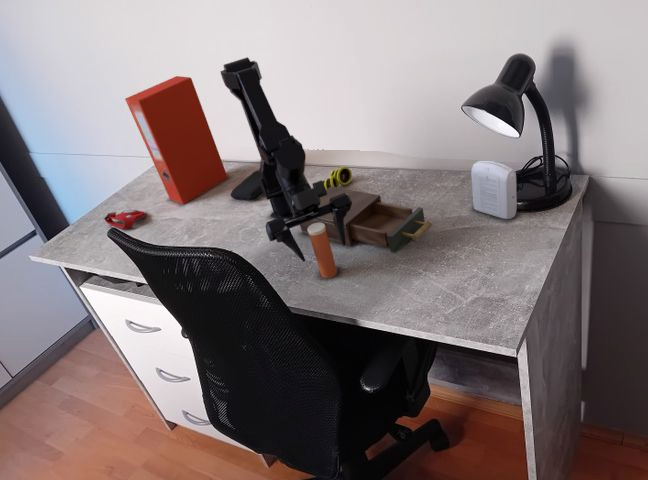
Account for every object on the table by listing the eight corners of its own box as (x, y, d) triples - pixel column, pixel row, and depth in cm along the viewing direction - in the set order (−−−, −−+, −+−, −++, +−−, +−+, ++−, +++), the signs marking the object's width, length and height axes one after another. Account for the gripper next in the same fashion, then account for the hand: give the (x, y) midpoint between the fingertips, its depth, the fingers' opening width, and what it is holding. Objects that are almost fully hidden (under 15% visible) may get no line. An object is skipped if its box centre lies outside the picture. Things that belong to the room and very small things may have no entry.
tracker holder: (144, 206, 165) (143, 212, 156) (147, 220, 166) (145, 227, 157) (101, 211, 162) (97, 217, 153) (104, 225, 163) (100, 232, 154)
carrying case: (258, 203, 153) (286, 178, 163) (255, 194, 151) (283, 169, 161) (229, 201, 158) (258, 177, 168) (226, 192, 156) (255, 168, 166)
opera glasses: (340, 181, 155) (333, 165, 153) (354, 179, 152) (348, 163, 150) (322, 198, 149) (315, 182, 147) (337, 196, 146) (330, 180, 144)
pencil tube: (318, 273, 119) (304, 227, 112) (332, 266, 121) (319, 220, 114) (326, 280, 117) (312, 234, 110) (340, 273, 118) (328, 226, 111)
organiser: (384, 216, 133) (380, 195, 129) (351, 246, 125) (345, 224, 122) (336, 206, 142) (331, 186, 139) (302, 233, 135) (296, 212, 131)
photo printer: (520, 212, 122) (518, 162, 115) (509, 221, 120) (507, 171, 113) (482, 202, 129) (478, 154, 122) (471, 210, 127) (466, 162, 120)
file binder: (228, 178, 172) (190, 77, 153) (184, 204, 163) (138, 100, 144) (213, 174, 177) (175, 76, 158) (170, 199, 168) (124, 98, 149)
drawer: (440, 227, 122) (438, 210, 120) (410, 257, 116) (408, 240, 113) (374, 213, 134) (371, 198, 131) (344, 240, 127) (340, 224, 124)
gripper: (252, 188, 107) (283, 260, 104) (339, 157, 110) (370, 225, 108) (255, 207, 117) (283, 272, 115) (334, 178, 121) (362, 241, 119)
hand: (324, 253), depth 114 cm, fingers open, 9 cm apart
